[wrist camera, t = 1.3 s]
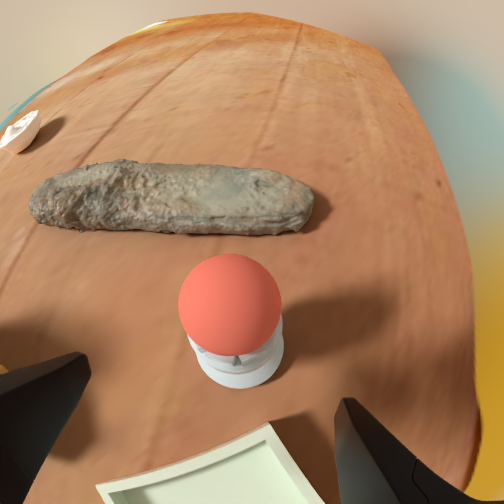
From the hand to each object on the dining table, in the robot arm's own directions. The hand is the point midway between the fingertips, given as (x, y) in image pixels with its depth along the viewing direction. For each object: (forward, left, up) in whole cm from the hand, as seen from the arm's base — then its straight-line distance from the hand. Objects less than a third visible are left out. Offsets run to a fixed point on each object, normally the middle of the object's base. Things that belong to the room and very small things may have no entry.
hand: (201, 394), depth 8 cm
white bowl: (+56, +20, -12) cm, 61 cm away
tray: (-10, +5, -12) cm, 16 cm away
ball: (+3, -2, -3) cm, 5 cm away
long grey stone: (+21, 0, -12) cm, 25 cm away
